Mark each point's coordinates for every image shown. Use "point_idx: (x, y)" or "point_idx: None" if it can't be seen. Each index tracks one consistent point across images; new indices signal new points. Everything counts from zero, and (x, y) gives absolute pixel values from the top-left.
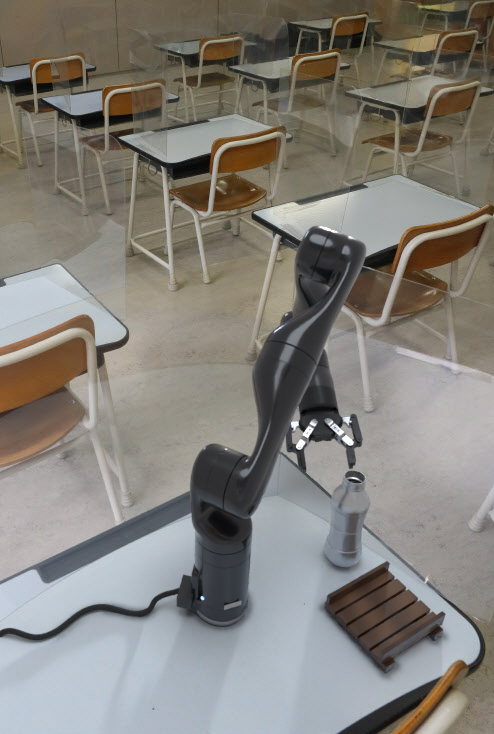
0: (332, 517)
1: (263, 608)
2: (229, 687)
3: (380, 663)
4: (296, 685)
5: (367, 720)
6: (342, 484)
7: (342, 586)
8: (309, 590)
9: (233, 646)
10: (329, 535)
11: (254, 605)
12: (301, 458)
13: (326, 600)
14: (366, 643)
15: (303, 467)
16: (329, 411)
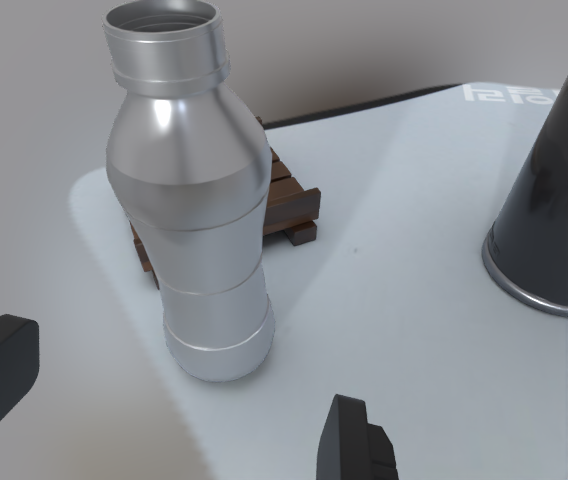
0: (262, 234)
1: (445, 249)
2: (492, 156)
3: None
4: (391, 151)
5: (304, 119)
6: (229, 65)
7: (280, 203)
8: (337, 274)
9: (497, 198)
10: (265, 295)
11: (465, 256)
12: (370, 459)
13: (319, 204)
14: (272, 151)
15: (357, 399)
16: None
